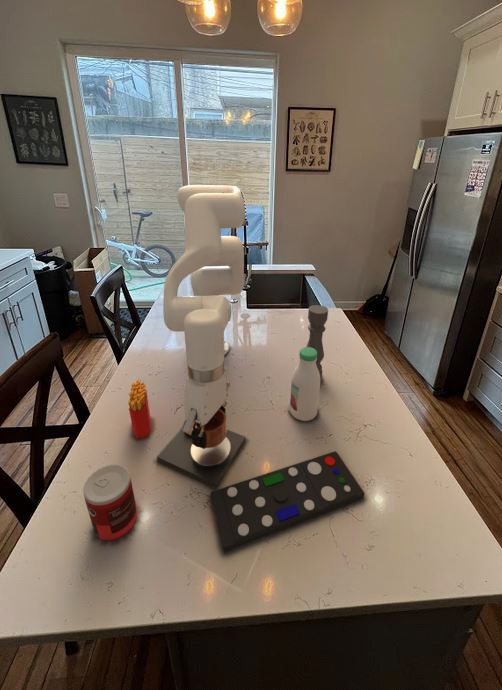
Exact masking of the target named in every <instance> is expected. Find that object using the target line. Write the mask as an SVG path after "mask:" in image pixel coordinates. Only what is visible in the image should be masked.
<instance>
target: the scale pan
mask: <svg viewBox="0 0 502 690" xmlns="http://www.w3.org/2000/svg"><path fill="white" fill-rule="evenodd" d="M230 450H231V445H230V442H229V440H228V438H227V437H226V438H225V439H224V440H223V442H222V443H220V444H219V445H218V446H215V447H212V448H205V449H202V448H200V447H196V446H195V445H193V444H192V446H191V457H192V459H193V460H194V461H195V462H196V463H197V464H199V465H201V466H207V467H208V466H215V465H218V464H220V463H222V462H223V461H224V460H225V459H226V458H227V457H228V455H229V453H230Z"/></svg>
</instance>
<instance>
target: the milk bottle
mask: <svg viewBox="0 0 502 690" xmlns="http://www.w3.org/2000/svg"><path fill="white" fill-rule="evenodd" d="M298 359H299V361H298V363H297V366H296V367H295V368H294V370H293V372H292V376H291V383H290V385H291V386H290V398H289V412H290V414H291V415H292V417H293V418H294V419H296V420H298V421H302V422H307V421H308V422H309V421H311V420H313V419H315V417H316V416H317V415H318V410H319V402H320V390H321V383H320V374H319V371H318V368H317V366H316V361H317V351H316V350H315V349H313V348H310V347H302V348H300V350H299V353H298Z"/></svg>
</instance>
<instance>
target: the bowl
mask: <svg viewBox="0 0 502 690" xmlns="http://www.w3.org/2000/svg"><path fill="white" fill-rule="evenodd" d="M200 425H201V424H199V423H196V426H195V428H197V429H200ZM227 430H228V428H227V414H226V415H225V413H224V412H223V411H222V410H221V409H218V411H217V412H216V413H215V414H214V416H213V417H212V418H211V419H210V420H209V421H208V423H206V424H205V428H204V433H205V435H206V448H212V447H215V446H218V445H219V444H220V443H222V442H223V440H224V439H225V438H226V433H227Z"/></svg>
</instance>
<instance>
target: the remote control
mask: <svg viewBox="0 0 502 690" xmlns="http://www.w3.org/2000/svg"><path fill="white" fill-rule="evenodd" d="M210 498H211V502H212V508H213V510H214V516H215V519H216V525H217V528H218V532H219V537H220V541H221V545H222V550H223V553H227V552H229V551H231V550H234V549H236V548H239V547H242V546H244V545H248V544H249V543H252V542H255V541H257V540H260V539H263V538H265V537H267V536H271V535H273V534H276V533H278V532H281V531H283V530H286V529H288V528H290V527H293V526H296V525H298V524H301V523H303V522H305V521H309V520H311V519H314V518H316V517H319V516H321V515H323V514H326V513H329V512H331V511H333V510H336V509H339V508H341V507H344V506H347V505H349V504H352V503H354V502H357V501H359V500H361V499H364V498H365V491H364V490H363V489H362V487H361V486H360V484H359V483H358V481H357V480H356V479H355V477H354V475H353V474H352V473H351V471H350V470H349V468H348V466H347V465H346V464H345V462H344V461H343V459H342V458H341V456H340V455H339V453H338V452H337V451H336V450H335V451H332V452H329V453H325V454H323V455H320V456H316V457H313V458H310V459H307V460H304V461H300V462H297V463H295V464H292V465H289V466H286V467H282V468H279V469H276V470H273V471H270V472H267V473H264V474H262V475H258V476H255V477H252V478H248V479H245V480H243V481H239V482H236V483H234V484H230V485H227V486H224V487H221V488H218V489H214V490H211V491H210Z"/></svg>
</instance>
